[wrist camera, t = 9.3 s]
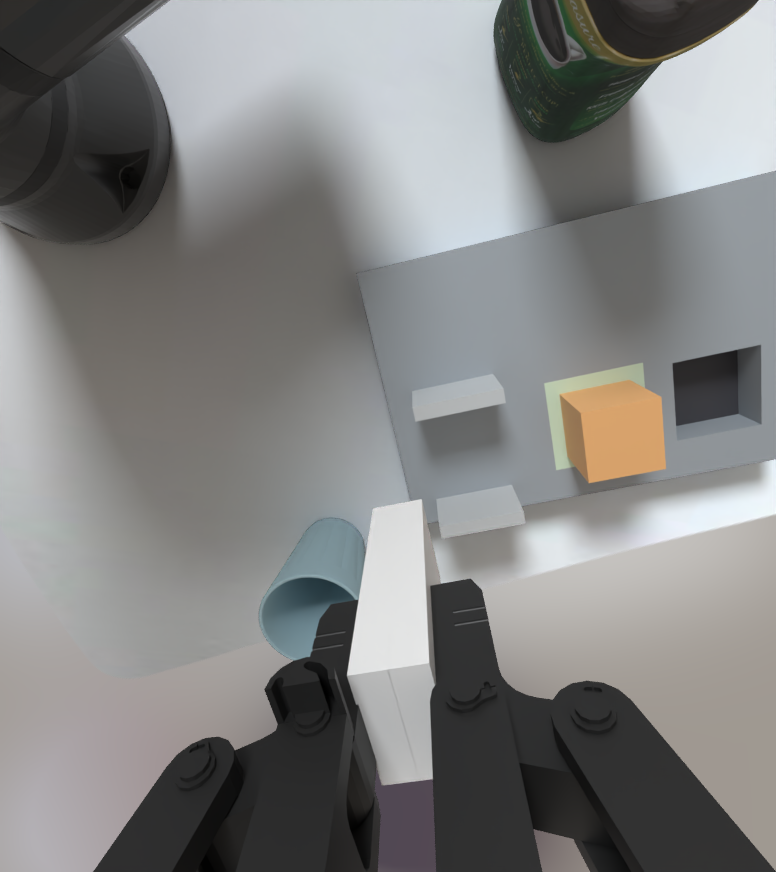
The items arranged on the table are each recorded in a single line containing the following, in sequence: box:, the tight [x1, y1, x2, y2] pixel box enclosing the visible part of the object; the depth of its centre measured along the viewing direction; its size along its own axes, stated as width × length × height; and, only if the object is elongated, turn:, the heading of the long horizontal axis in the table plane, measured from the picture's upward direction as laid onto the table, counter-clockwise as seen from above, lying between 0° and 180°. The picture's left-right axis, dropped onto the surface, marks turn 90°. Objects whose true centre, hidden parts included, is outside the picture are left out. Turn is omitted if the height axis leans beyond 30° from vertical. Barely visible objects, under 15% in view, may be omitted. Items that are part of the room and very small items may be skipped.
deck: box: [356, 171, 776, 539], centre depth 36 cm, size 20×28×8 cm
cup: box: [259, 518, 365, 661], centre depth 41 cm, size 8×8×10 cm
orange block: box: [559, 380, 666, 483], centre depth 36 cm, size 5×5×5 cm
